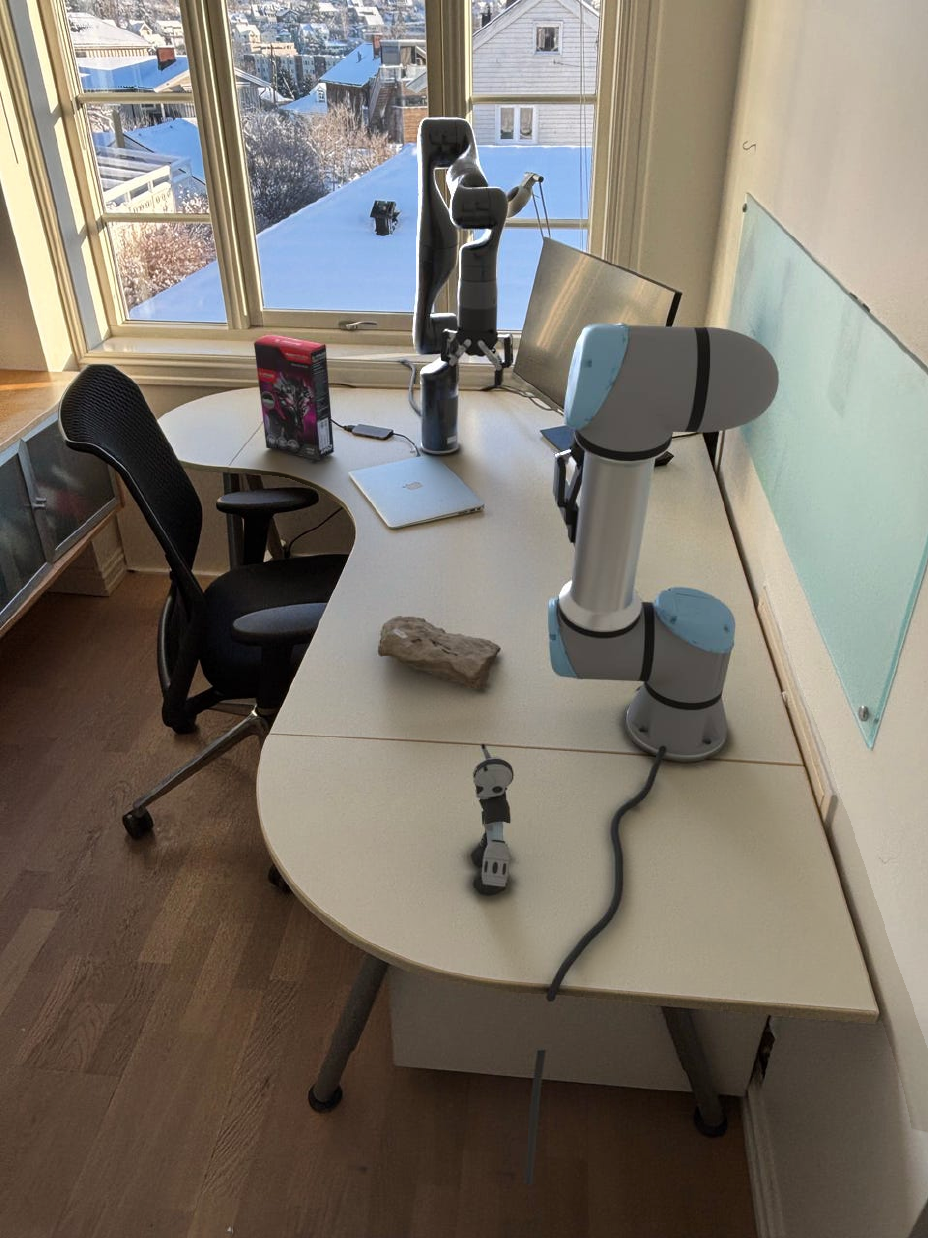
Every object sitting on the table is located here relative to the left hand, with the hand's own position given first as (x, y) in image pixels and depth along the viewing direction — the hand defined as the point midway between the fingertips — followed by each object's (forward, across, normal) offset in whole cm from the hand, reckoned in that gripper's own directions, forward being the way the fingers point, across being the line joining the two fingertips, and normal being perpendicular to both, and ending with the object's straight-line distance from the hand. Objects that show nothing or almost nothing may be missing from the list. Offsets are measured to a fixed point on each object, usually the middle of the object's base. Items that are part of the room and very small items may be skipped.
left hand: (476, 384), depth 184 cm
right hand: (+18, -27, +23) cm, 40 cm away
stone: (+30, -7, +53) cm, 61 cm away
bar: (+19, -24, +15) cm, 34 cm away
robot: (+30, -27, +94) cm, 102 cm away
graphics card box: (+30, +51, -23) cm, 64 cm away
